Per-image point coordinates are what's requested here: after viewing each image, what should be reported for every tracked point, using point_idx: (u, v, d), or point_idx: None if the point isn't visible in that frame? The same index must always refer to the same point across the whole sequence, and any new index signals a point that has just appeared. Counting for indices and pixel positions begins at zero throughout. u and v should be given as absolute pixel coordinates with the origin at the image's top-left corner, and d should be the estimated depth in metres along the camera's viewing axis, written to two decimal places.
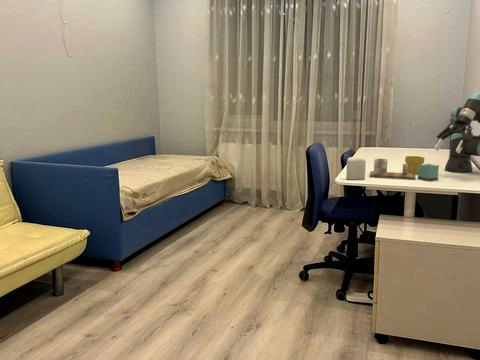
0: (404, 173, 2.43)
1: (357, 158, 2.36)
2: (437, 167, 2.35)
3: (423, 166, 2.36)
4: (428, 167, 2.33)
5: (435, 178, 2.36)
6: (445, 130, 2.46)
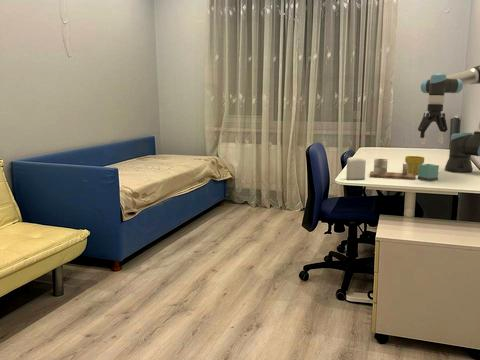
0: (404, 173, 2.43)
1: (357, 158, 2.36)
2: (437, 167, 2.35)
3: (423, 166, 2.36)
4: (428, 167, 2.33)
5: (435, 178, 2.36)
6: (440, 121, 2.37)
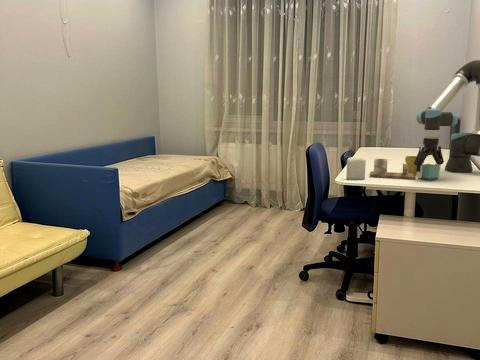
0: (404, 173, 2.43)
1: (357, 158, 2.36)
2: (437, 167, 2.35)
3: (423, 166, 2.36)
4: (428, 167, 2.33)
5: (435, 178, 2.36)
6: (436, 153, 2.40)
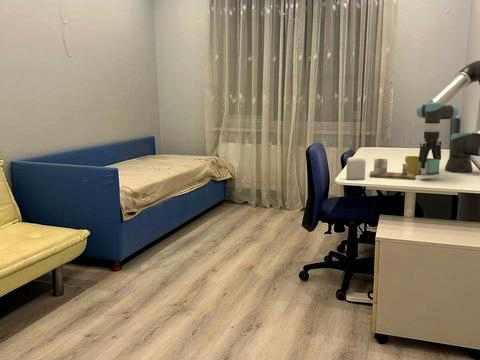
0: (404, 173, 2.43)
1: (357, 158, 2.36)
2: (438, 161, 2.35)
3: None
4: (429, 161, 2.33)
5: (436, 172, 2.35)
6: None
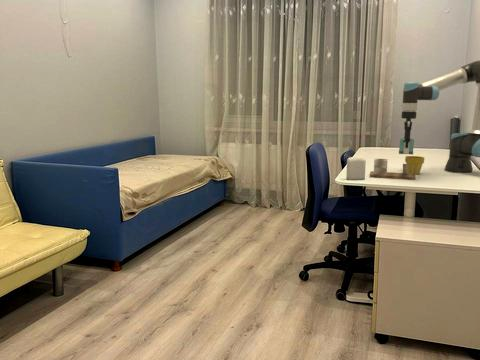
0: (404, 173, 2.43)
1: (357, 158, 2.36)
2: None
3: None
4: (412, 141, 2.37)
5: None
6: None
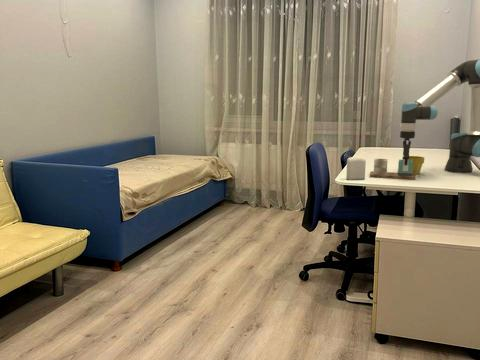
0: None
1: (357, 158, 2.36)
2: None
3: None
4: (411, 162, 2.39)
5: None
6: None
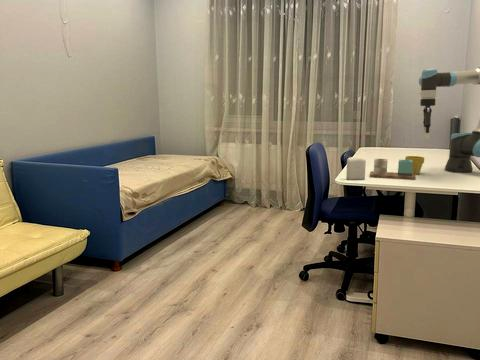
0: None
1: (357, 158, 2.36)
2: None
3: (404, 162, 2.40)
4: (411, 162, 2.39)
5: None
6: None
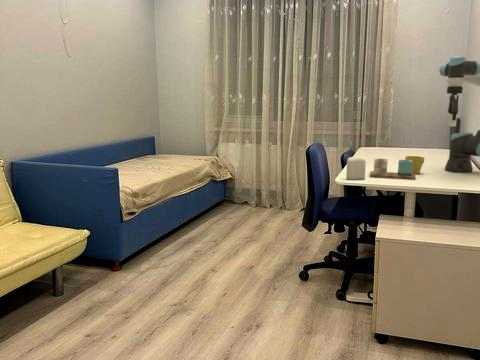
0: None
1: (357, 158, 2.36)
2: None
3: (404, 162, 2.40)
4: (411, 162, 2.39)
5: None
6: None
